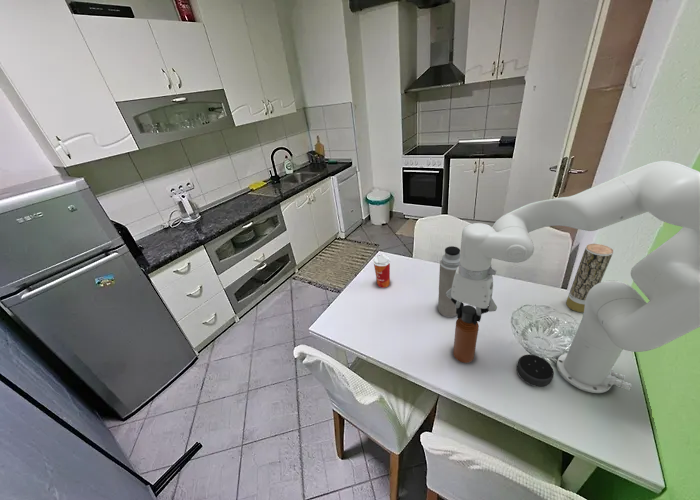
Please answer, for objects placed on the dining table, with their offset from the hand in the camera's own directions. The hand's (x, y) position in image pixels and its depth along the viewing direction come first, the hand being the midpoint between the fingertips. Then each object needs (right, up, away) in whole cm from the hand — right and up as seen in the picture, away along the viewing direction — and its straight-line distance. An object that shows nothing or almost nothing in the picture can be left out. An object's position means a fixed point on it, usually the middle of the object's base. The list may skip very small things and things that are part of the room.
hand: (467, 318), depth 82 cm
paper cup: (-20, +5, +45) cm, 50 cm away
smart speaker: (+19, -17, 0) cm, 26 cm away
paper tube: (+48, -1, +19) cm, 52 cm away
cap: (0, 0, 0) cm, 0 cm away
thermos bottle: (+4, -3, +26) cm, 27 cm away
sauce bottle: (+2, -14, +8) cm, 16 cm away
